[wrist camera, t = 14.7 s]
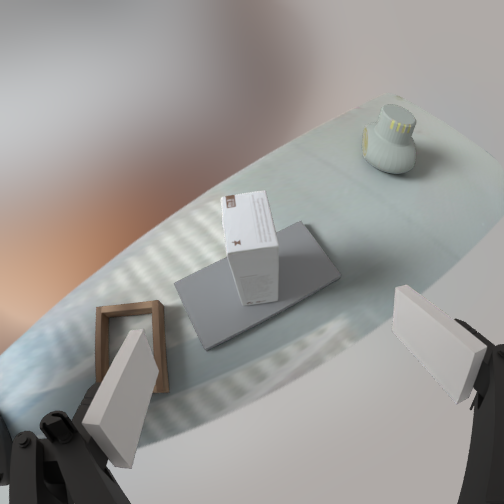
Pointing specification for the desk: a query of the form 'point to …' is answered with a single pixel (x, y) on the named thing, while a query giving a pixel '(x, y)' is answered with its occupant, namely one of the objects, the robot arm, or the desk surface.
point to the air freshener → (390, 140)
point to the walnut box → (158, 338)
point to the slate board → (245, 317)
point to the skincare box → (251, 246)
